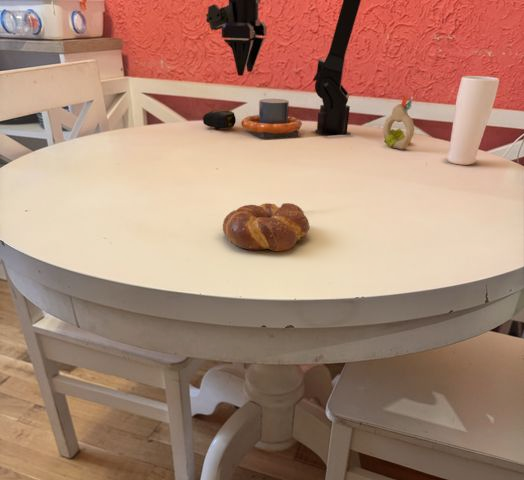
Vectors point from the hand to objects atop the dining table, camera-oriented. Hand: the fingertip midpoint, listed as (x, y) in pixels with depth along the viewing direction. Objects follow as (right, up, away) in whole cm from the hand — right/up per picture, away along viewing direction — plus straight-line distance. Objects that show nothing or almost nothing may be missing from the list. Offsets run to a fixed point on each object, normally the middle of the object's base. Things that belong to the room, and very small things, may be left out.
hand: (245, 73), depth 117 cm
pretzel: (+5, -50, -52) cm, 72 cm away
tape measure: (-6, -11, +6) cm, 14 cm away
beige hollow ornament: (+35, -20, -6) cm, 41 cm away
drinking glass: (+44, -27, -16) cm, 54 cm away
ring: (+6, -11, +1) cm, 13 cm away
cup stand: (+7, -13, +2) cm, 15 cm away
